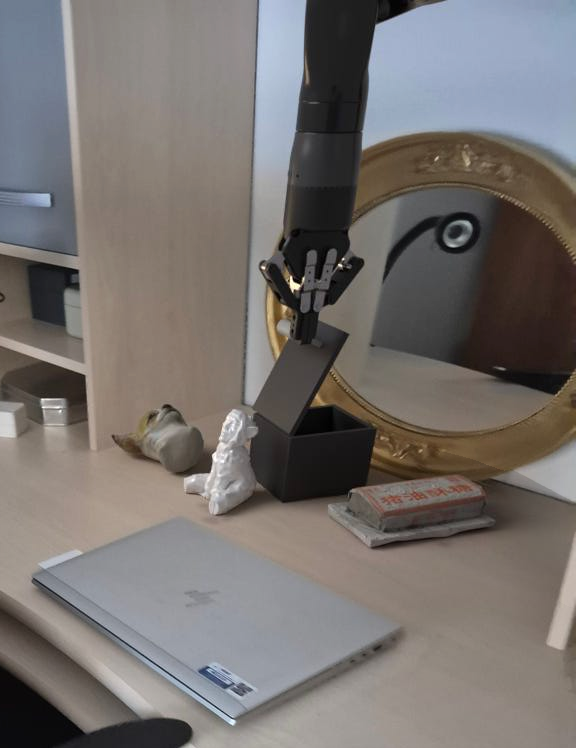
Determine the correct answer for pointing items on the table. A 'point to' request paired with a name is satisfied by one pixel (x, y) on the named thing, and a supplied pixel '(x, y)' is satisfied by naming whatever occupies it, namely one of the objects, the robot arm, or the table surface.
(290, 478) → the open hinged box
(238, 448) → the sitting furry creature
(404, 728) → the table surface
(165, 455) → the ceramic sculpture
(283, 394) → the box lid
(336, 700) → the table surface
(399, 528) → the packaged product
